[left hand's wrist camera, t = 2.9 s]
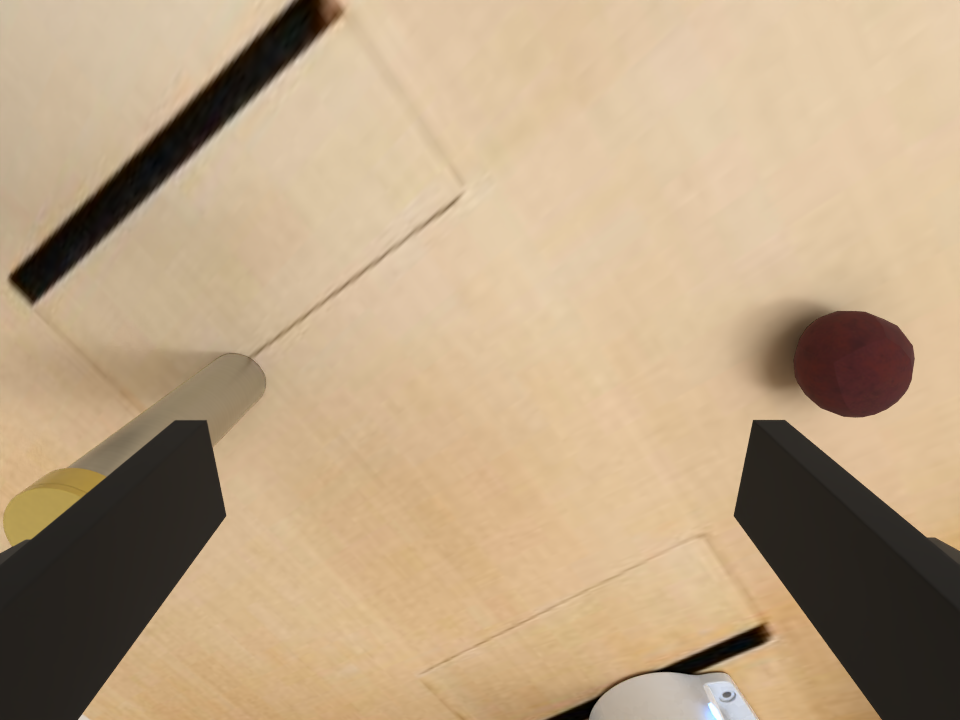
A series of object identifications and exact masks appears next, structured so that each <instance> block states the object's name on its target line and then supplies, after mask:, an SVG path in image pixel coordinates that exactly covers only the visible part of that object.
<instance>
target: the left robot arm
mask: <svg viewBox="0 0 960 720" xmlns="http://www.w3.org/2000/svg"><path fill="white" fill-rule="evenodd" d="M225 517H226V512H225V507H224V502H223V497H222V492H221V487H220V482H219V477H218V472H217V467H216V462H215V458H214V453H213V448H212V443H211V438H210V433H209V428H208V423H207V420H175V421H173V422H172V423H171V424H170V425H169V426H167V427H166V428H165V429H164V430H162V431H161V432H160V433H159V434H158V435H156V436H155V437H154V438H153V439H152V440H150V441H149V442H148V443H147V444H146V445H144V446H143V447H142V448H141V449H140V450H138V451H137V452H136V453H135V454H134V455H132V456H131V457H130V458H129V459H128V460H126V461H125V462H124V463H123V464H121V465H120V466H119V467H118V468H117V469H115V470H114V471H113V472H112V473H111V474H109V475H108V476H107V477H106V478H105V479H103V480H102V481H101V482H100V483H99V484H97V485H96V486H95V487H94V488H93V489H91V490H90V491H89V492H88V493H86V494H85V495H84V496H83V497H82V498H80V499H79V500H78V501H77V502H76V503H74V504H73V505H72V506H71V507H70V508H68V509H67V510H66V511H65V512H64V513H62V514H61V515H60V516H59V517H58V518H56V519H55V520H54V521H53V522H52V523H50V524H49V525H48V526H47V527H45V528H44V529H43V530H42V531H41V532H39V533H38V534H37V535H36V536H35V537H33V538H32V539H26V540H24V541H22V542H20V543H18V544H17V545H15V546H13V547H11V548H9V549H7V550H6V551H4V552H2V553H0V720H78V719H79V717H80V716H81V715H82V713H83V712H84V711H85V709H86V708H87V706H88V705H89V704H90V702H91V701H92V700H93V698H94V697H95V695H96V694H97V693H98V691H99V690H100V689H101V687H102V686H103V684H104V683H105V682H106V680H107V679H108V678H109V676H110V675H111V673H112V672H113V671H114V669H115V668H116V667H117V665H118V664H119V662H120V661H121V660H122V658H123V657H124V656H125V654H126V653H127V652H128V650H129V649H130V647H131V646H132V645H133V643H134V642H135V641H136V639H137V638H138V636H139V635H140V634H141V632H142V631H143V630H144V628H145V627H146V625H147V624H148V623H149V621H150V620H151V619H152V617H153V616H154V614H155V613H156V612H157V610H158V609H159V608H160V606H161V605H162V603H163V602H164V601H165V599H166V598H167V597H168V595H169V594H170V592H171V591H172V590H173V588H174V587H175V586H176V584H177V583H178V581H179V580H180V579H181V577H182V576H183V575H184V573H185V572H186V570H187V569H188V568H189V566H190V565H191V564H192V562H193V561H194V559H195V558H196V557H197V555H198V554H199V553H200V551H201V550H202V548H203V547H204V546H205V544H206V543H207V542H208V540H209V539H210V537H211V536H212V535H213V533H214V532H215V531H216V529H217V528H218V526H219V525H220V524H221V522H222V521H223V520H224V518H225ZM734 517H735V518H736V520H737V521H738V522H739V524H740V525H741V527H742V528H743V529H744V531H745V532H746V533H747V535H748V536H749V537H750V539H751V540H752V542H753V543H754V544H755V546H756V547H757V548H758V550H759V551H760V553H761V554H762V555H763V557H764V558H765V559H766V561H767V562H768V564H769V565H770V566H771V568H772V569H773V570H774V572H775V573H776V575H777V576H778V577H779V579H780V580H781V581H782V583H783V584H784V586H785V587H786V588H787V590H788V591H789V592H790V594H791V595H792V597H793V598H794V599H795V601H796V602H797V603H798V605H799V606H800V608H801V609H802V610H803V612H804V613H805V614H806V616H807V617H808V619H809V620H810V621H811V623H812V624H813V625H814V627H815V628H816V630H817V631H818V632H819V634H820V635H821V636H822V638H823V639H824V641H825V642H826V643H827V645H828V646H829V647H830V649H831V650H832V652H833V653H834V654H835V656H836V657H837V658H838V660H839V661H840V662H841V664H842V665H843V667H844V668H845V669H846V671H847V672H848V673H849V675H850V676H851V678H852V679H853V680H854V682H855V683H856V684H857V686H858V687H859V689H860V690H861V691H862V693H863V694H864V695H865V697H866V698H867V700H868V701H869V702H870V704H871V705H872V706H873V708H874V709H875V711H876V712H877V713H878V715H879V716H880V717H881V719H882V720H960V551H958V550H957V549H955V548H953V547H951V546H949V545H948V544H946V543H944V542H942V541H940V540H938V539H937V538H927V537H925V536H924V535H923V534H922V533H921V532H919V531H918V530H917V529H916V528H915V527H913V526H912V525H911V524H910V523H908V522H907V521H906V520H905V519H904V518H902V517H901V516H900V515H899V514H898V513H896V512H895V511H894V510H893V509H892V508H890V507H889V506H888V505H887V504H886V503H884V502H883V501H882V500H881V499H880V498H878V497H877V496H876V495H875V494H874V493H872V492H871V491H870V490H869V489H867V488H866V487H865V486H864V485H863V484H861V483H860V482H859V481H858V480H857V479H855V478H854V477H853V476H852V475H851V474H849V473H848V472H847V471H846V470H845V469H843V468H842V467H841V466H840V465H839V464H837V463H836V462H835V461H834V460H832V459H831V458H830V457H829V456H828V455H826V454H825V453H824V452H823V451H822V450H820V449H819V448H818V447H817V446H816V445H814V444H813V443H812V442H811V441H810V440H808V439H807V438H806V437H805V436H804V435H802V434H801V433H800V432H799V431H798V430H796V429H795V428H794V427H793V426H791V425H790V424H789V423H788V422H787V421H785V420H753V423H752V428H751V433H750V438H749V443H748V448H747V453H746V458H745V462H744V467H743V472H742V477H741V482H740V487H739V492H738V497H737V502H736V507H735V512H734Z"/></svg>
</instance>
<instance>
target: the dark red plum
mask: <svg viewBox="0 0 960 720" xmlns="http://www.w3.org/2000/svg"><path fill="white" fill-rule="evenodd" d="M914 359H915V358H914V351H913V346H912V344H911V343H910V342H909V340H908V339H907V337H906V336H905V335H904V334H903V332H902V331H901V330H900V328H899V327H898V326H897V325H895V324H892V323H890V322H888V321H886V320H884V319H882V318H879V317H877V316H874V315H872V314H869V313H867V312H860V311H837V312H834V313H831V314H828V315H825V316H822V317H820V318H818V319H817V320H815V321H814V322H813V323H812V324H810V325H809V326H808V327H807V328H806V330H805V331H804V333H803V334H802V336H801V337H800V339H799V342H798V346H797V349H796V353H795V357H794V370H795V378H796V380H797V382H798V384H799V385H800V387H801V389H802V390H803V392H804V393H805V394H806V395H807V396H808V397H809V398H810V399H811V400H812V401H813V402H814V403H816V404H817V405H818V406H819V407H820V408H822V409H825V410H827V411H830V412H833V413H835V414H838V415H841V416H843V417H865V416H870V415H875V414H877V413H879V412H882V411H884V410H886V409H888V408H889V407H891V406H892V405H894V404H895V403H896V402H898V401H899V399H900V398H901V397H902V396H903V395H904V394H905V392H906V391H907V389H908V387H909V385H910V382H911V380H912V373H913V366H914Z"/></svg>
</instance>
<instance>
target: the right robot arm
mask: <svg viewBox="0 0 960 720" xmlns="http://www.w3.org/2000/svg"><path fill="white" fill-rule="evenodd" d="M589 720H759V718H758V717H757V715H756V714H755V712H754V711H753V709H752V708H751V706H750V705H749V703H748V702H747V700H746V699H745V697H744V696H743V695H742V693H741V692H740V690H739V689H738V687H737V686H736V684H735V683H734V681H733V680H732V678H731V677H730V676H729V675H728V674H726V673H720V672H719V673H708V674H702V675H688V674H682V673H674V672H657V673H649V674H644V675H640V676H636V677H633V678H630V679H628V680H625V681H623V682H621V683H619V684H617V685H616V686H614V687H613V688H611V689H610V690H608V691H607V692H606V693H605V694H604V695H603V696H602V697H601V698H600V699H599V700H598V701H597V702H596V704H595V705H594V707H593V709H592V711H591V714H590V717H589Z"/></svg>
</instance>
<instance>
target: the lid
mask: <svg viewBox="0 0 960 720" xmlns="http://www.w3.org/2000/svg"><path fill="white" fill-rule="evenodd" d="M105 478H106V476H104V475H102V474H100V473H97V472H94V471H91V470H87V469H82V468H64V469H59V470H55V471H52V472H50V473H48V474H46V475H45V476H43V477H42V478H40V479H39V480H38V481H36V482H35V483H33V484H32V485H31V486H29V487H28V488H26V489H25V490H24V491H22V492H21V493H19V494H18V495H16V496H15V497H14V498H13V499H12V500H11V501H10V502H9V504H8V505H7V507H6V509H5V512H4V516H3V527H4V531H5V534H6V537H7V539H8V541H9V542H10V544H11V546H12V547H13V546H15V545H17V544H18V543H20V542H22V541H24V540H26V539H32V538H33V537H35V536H36V535H37V534H38V533H39V532H41V531H42V530H43V529H44V528H45V527H47V526H48V525H49V524H50V523H52V522H53V521H54V520H55V519H56V518H58V517H59V516H60V515H61V514H62V513H64V512H65V511H66V510H67V509H68V508H70V507H71V506H72V505H73V504H74V503H76V502H77V501H78V500H79V499H80V498H82V497H83V496H84V495H85V494H86V493H88V492H89V491H90V490H91V489H93V488H94V487H95V486H96V485H97V484H99V483H100V482H101V481H102V480H103V479H105Z"/></svg>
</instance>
